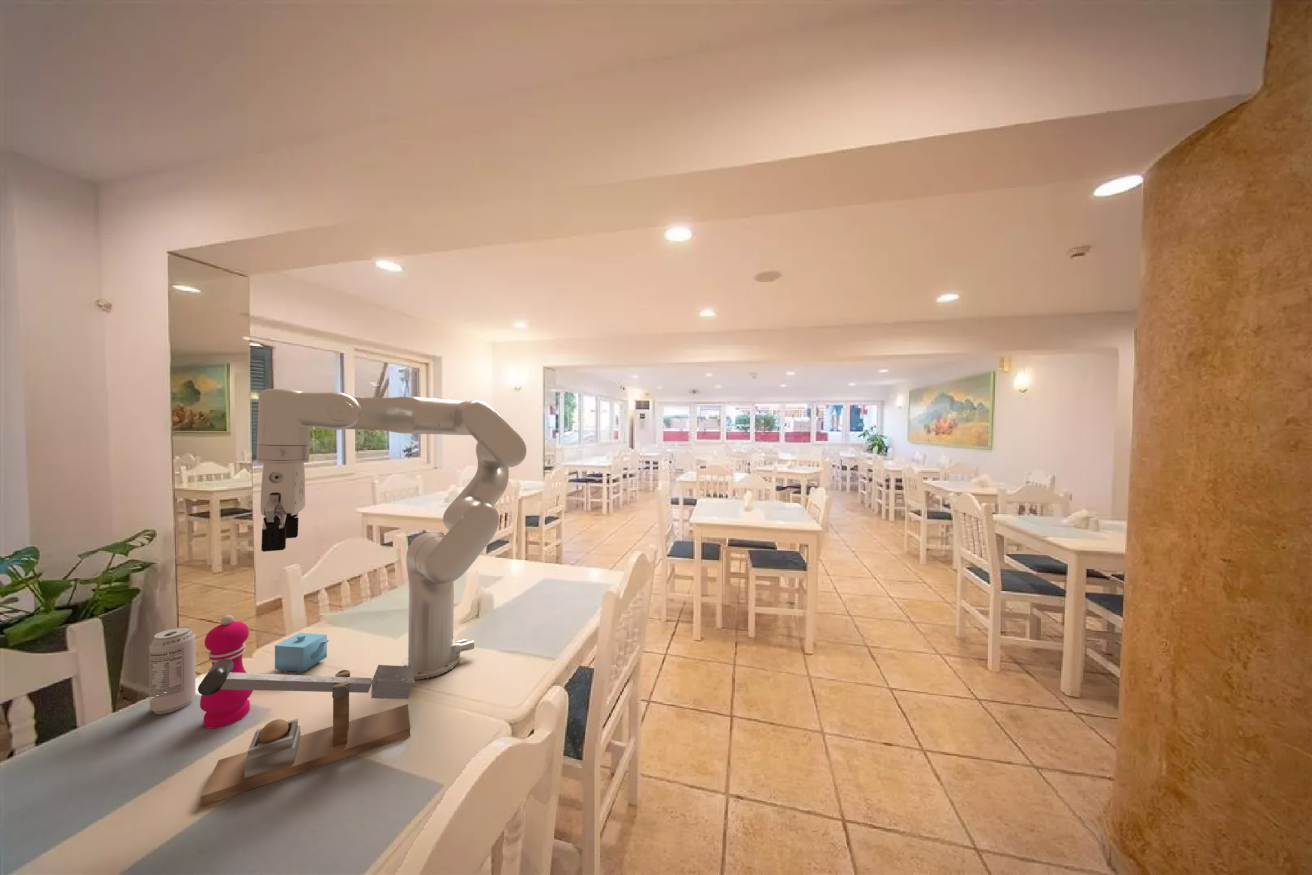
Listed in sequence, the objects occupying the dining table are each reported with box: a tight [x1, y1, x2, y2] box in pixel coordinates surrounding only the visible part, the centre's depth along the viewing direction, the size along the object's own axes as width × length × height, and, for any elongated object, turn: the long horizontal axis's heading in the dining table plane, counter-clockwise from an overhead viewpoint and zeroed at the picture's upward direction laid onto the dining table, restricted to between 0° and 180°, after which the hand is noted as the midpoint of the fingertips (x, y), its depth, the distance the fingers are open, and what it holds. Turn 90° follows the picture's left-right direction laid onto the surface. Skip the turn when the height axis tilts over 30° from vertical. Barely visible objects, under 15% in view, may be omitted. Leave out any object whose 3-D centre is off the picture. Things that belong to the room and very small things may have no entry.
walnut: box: [259, 718, 288, 744], centre depth 70 cm, size 4×4×4 cm
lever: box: [197, 659, 415, 700], centre depth 73 cm, size 29×6×3 cm, turn 123°
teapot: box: [274, 632, 330, 675], centre depth 98 cm, size 12×6×8 cm, turn 85°
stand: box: [200, 669, 411, 807], centre depth 73 cm, size 27×8×12 cm, turn 123°
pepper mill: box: [199, 614, 254, 729], centre depth 81 cm, size 7×7×20 cm
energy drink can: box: [148, 626, 196, 715], centre depth 84 cm, size 6×6×15 cm
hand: (280, 543), depth 80 cm, fingers open, 9 cm apart
